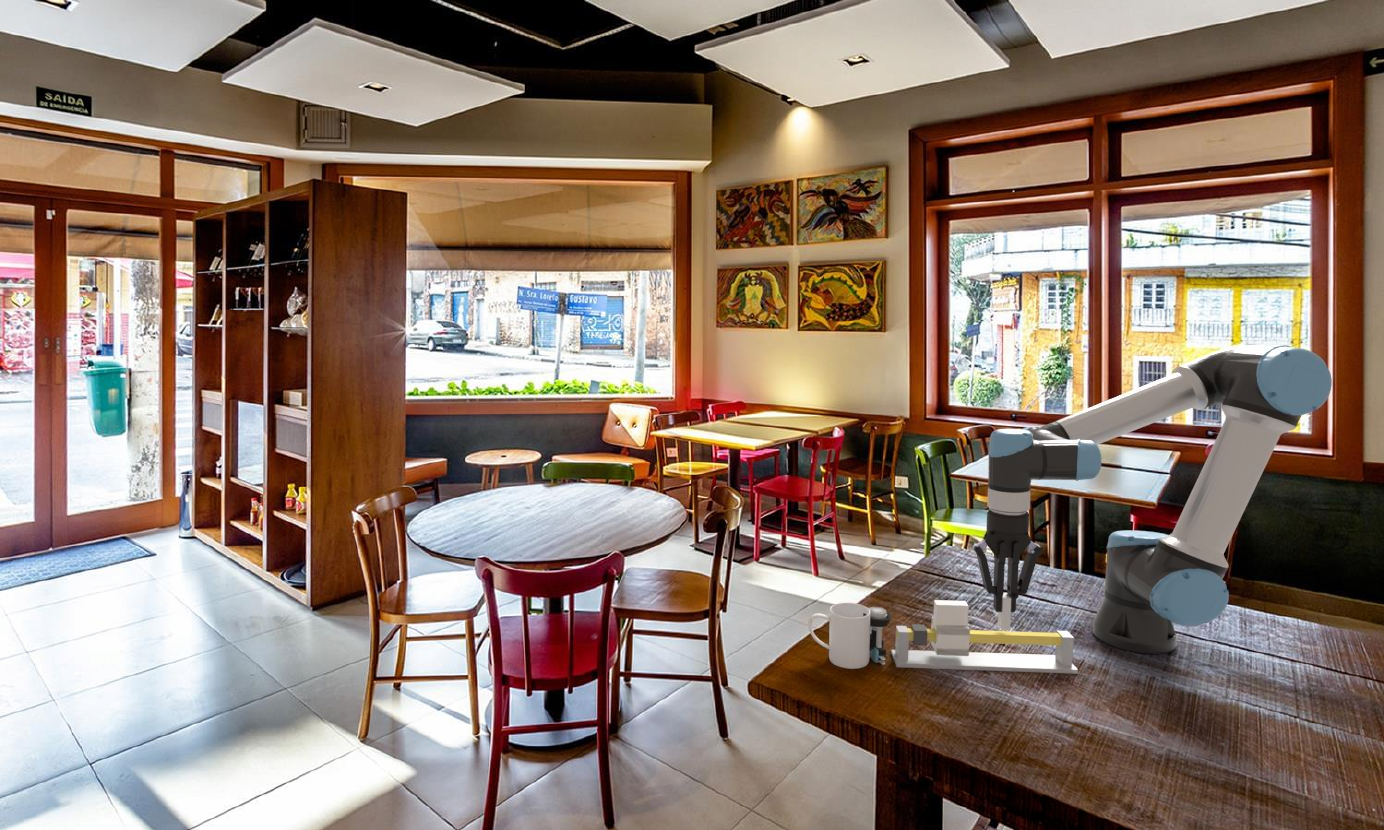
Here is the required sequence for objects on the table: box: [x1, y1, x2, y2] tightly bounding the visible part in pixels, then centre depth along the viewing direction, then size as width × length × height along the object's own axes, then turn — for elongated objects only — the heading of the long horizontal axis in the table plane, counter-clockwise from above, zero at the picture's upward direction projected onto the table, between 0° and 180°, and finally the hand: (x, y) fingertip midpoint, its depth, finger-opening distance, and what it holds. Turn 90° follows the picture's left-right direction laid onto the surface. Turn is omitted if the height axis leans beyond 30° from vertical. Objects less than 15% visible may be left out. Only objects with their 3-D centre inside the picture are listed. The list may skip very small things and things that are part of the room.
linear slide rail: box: [890, 625, 1079, 675], centre depth 146 cm, size 34×6×7 cm, turn 84°
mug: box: [807, 602, 871, 670], centre depth 147 cm, size 12×8×10 cm, turn 92°
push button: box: [863, 606, 892, 666], centre depth 148 cm, size 7×5×10 cm
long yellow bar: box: [895, 623, 1062, 647], centre depth 146 cm, size 32×3×3 cm, turn 84°
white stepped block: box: [930, 599, 971, 656], centre depth 146 cm, size 6×6×10 cm
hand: (1003, 626), depth 145 cm, fingers closed
